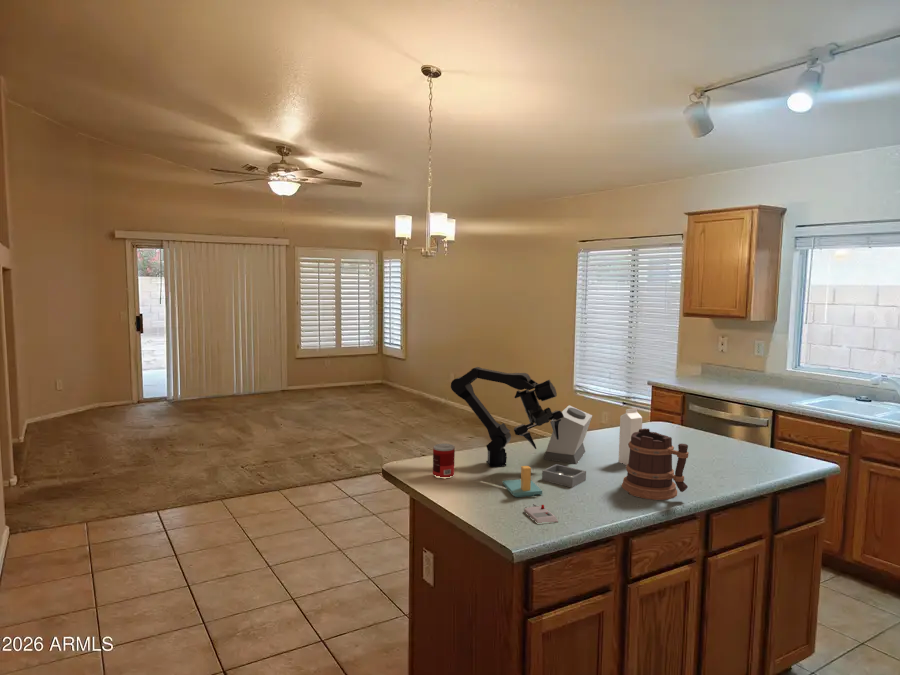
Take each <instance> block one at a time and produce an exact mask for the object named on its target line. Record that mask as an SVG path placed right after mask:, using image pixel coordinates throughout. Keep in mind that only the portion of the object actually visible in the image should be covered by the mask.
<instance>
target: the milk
mask: <svg viewBox="0 0 900 675" xmlns="http://www.w3.org/2000/svg"><path fill="white" fill-rule="evenodd" d="M619 418H620V419H619V438H618V439H619V442H618V443H619V444H618V461H617V462H618V463H619V464H620V463H621V464H622V463H623V464H622V465H625V466H627V464H628V463H629V453H630V448H629V446H628V443H629V442H630V441H631V435H632V434H633V433H634V432H639V429H643V416H642V415H641V414H640V413H639V412H638V408H637V407H635V408H628V409H627V408H626V409H625V413H623V414H621V415H620V417H619Z"/></svg>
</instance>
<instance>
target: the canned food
mask: <svg viewBox="0 0 900 675" xmlns="http://www.w3.org/2000/svg"><path fill="white" fill-rule="evenodd" d="M455 450H456V449H455V445H454V444H451V443H437V444H434V445H433V448H432V475H433V474H434V475H436V476H440V477H450V476H453V475H455V455H456V454H455ZM453 477H454V476H453Z"/></svg>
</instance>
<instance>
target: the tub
mask: <svg viewBox="0 0 900 675" xmlns="http://www.w3.org/2000/svg"><path fill="white" fill-rule="evenodd" d="M554 471H559V472H563V473H564V475H562V474H558V473H554ZM541 473H542V475H541V479H542V481H545V482H549V483H553V484H557V485H561V486H565V487H569V488H575V487H576V486H579V485H580V484H582V483H584V482H586V481H587V470H585V469H584V470H583V469H579V468H574V467H571V466H566V465H562V464H557V463H556V464H553V465H552V466H549V467H547V468H545V469H543V470H542V472H541ZM567 474H571V475H574V476H573V477H570V476H566V475H567Z"/></svg>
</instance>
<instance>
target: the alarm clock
mask: <svg viewBox="0 0 900 675" xmlns="http://www.w3.org/2000/svg"><path fill="white" fill-rule="evenodd" d="M561 412H562V413H563V416H564V417H563V418H560V419H561V421H559V425H558V436H559V440H557V439H556V437H555V434H554V431H553V430H552V433H551V436H550V439H549V441H548V444H547V448H546V450H545V452H544V456H543V460H547V461H554V462H555V461H556V462H562V463H569V464H573V465H577V464H579V462H580V461H581V459H582V457H583V456H584V455H583V454H585V453H586V449H585V446H584V441H585V439H586V435H587V431H588V429H589V426H590V423H591V420H592V418H593V414H591V413H588V412H585V411H583V410H581V409H578V408H576V407H574V406H572V405H570V404H569V405H568V406H566V408H564V409H563V410H562V411H561ZM578 461H579V462H578Z"/></svg>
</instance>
